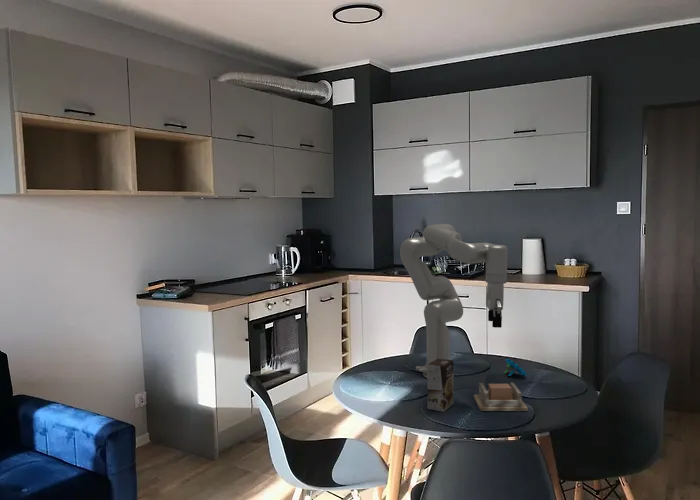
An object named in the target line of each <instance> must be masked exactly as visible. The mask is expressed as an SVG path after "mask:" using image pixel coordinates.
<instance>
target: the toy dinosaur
mask: <svg viewBox="0 0 700 500" xmlns="http://www.w3.org/2000/svg"><path fill="white" fill-rule="evenodd" d="M504 361H505V363H506V364H507V365H506V370H505V371H504V374H505V373H506V374H508V372H509V374H508V375H507V377H508V376H511V377H512V375H513V374H514V373H516V372H517V374H519V375H522V376H523V375H524V377H527V376H528V374H527V372H526V370H524V368H522V367H520V366H519V364H518V363H515V361H513V360H511V359H509V358H506V359H505V360H504Z"/></svg>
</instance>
